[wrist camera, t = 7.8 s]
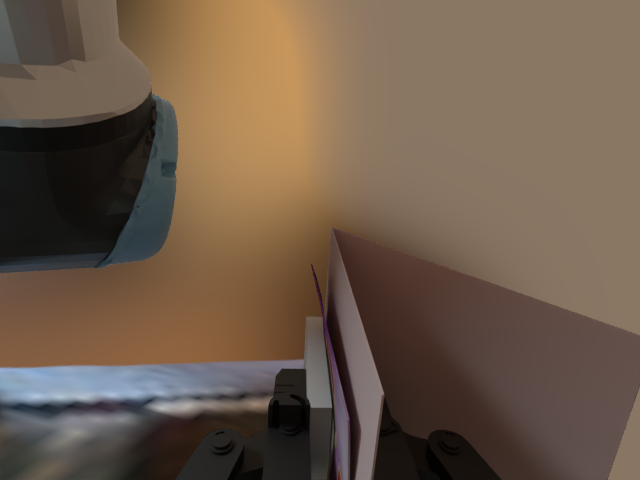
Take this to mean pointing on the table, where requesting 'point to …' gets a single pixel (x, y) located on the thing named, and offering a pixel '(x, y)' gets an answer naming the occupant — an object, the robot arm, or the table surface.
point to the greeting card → (469, 368)
